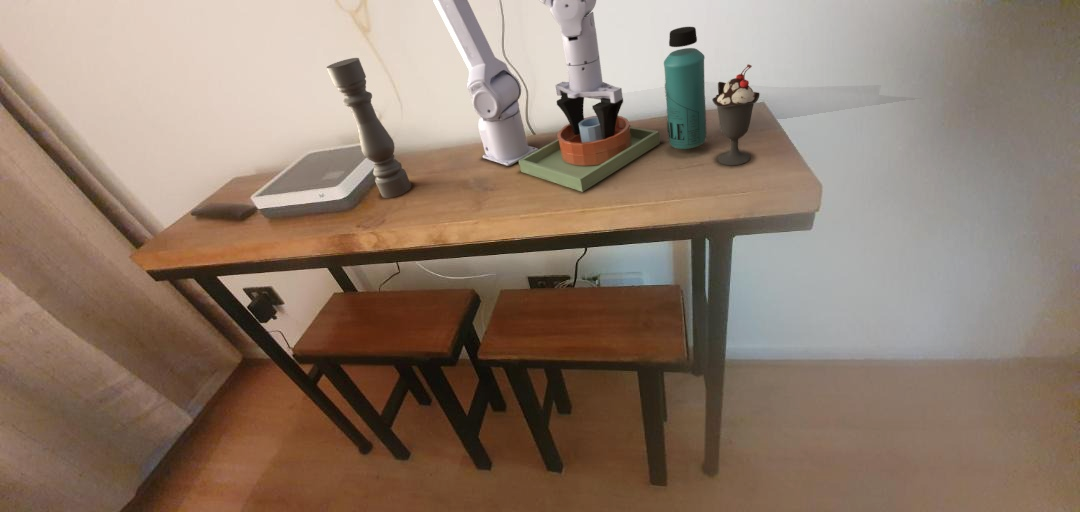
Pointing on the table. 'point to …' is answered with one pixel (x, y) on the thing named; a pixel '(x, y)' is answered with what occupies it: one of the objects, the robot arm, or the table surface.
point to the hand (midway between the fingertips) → (593, 136)
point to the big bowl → (594, 145)
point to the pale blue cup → (590, 130)
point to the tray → (583, 177)
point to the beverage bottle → (685, 91)
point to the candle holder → (369, 127)
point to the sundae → (735, 115)
